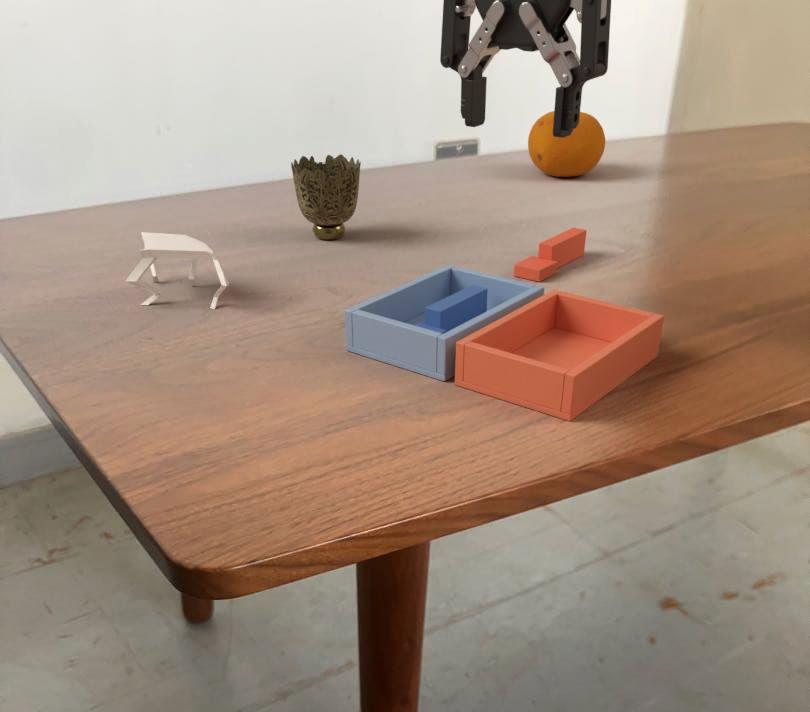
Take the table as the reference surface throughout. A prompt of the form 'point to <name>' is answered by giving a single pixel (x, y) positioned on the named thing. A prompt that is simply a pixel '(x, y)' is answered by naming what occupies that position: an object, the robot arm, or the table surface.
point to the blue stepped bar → (455, 309)
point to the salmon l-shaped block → (552, 255)
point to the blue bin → (405, 306)
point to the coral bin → (558, 353)
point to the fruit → (566, 146)
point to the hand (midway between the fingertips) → (517, 130)
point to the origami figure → (173, 248)
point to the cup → (327, 193)
